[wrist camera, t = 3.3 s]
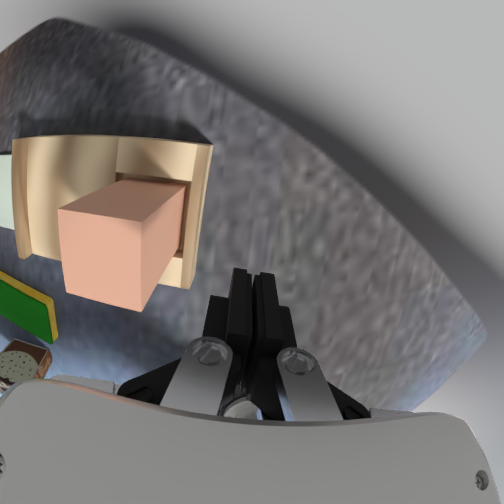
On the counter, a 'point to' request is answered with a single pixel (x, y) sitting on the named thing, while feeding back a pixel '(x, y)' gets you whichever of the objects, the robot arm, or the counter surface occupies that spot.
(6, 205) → the mat
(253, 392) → the robot arm
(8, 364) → the food container
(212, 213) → the counter surface
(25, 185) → the open box
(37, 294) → the dish sponge
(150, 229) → the block
